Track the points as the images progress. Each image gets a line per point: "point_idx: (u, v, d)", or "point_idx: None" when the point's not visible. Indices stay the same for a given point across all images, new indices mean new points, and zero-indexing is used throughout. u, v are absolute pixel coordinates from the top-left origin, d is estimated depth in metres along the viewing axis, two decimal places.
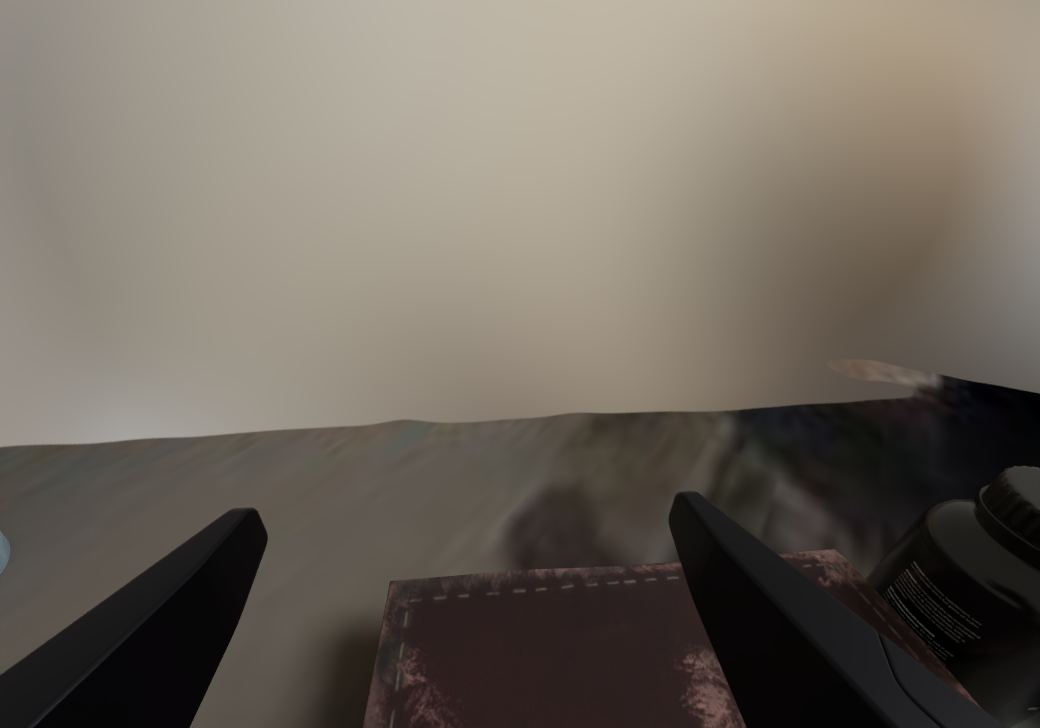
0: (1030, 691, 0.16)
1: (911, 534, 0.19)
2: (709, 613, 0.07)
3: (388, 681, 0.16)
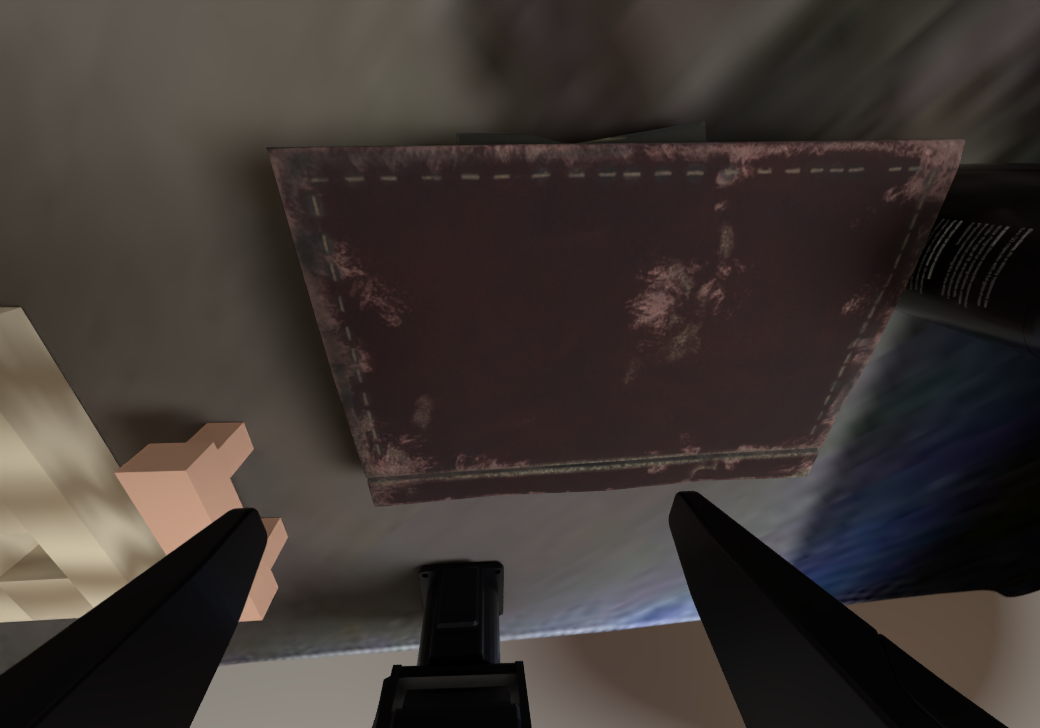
0: (943, 326, 0.17)
1: None
2: (709, 613, 0.07)
3: (323, 274, 0.14)
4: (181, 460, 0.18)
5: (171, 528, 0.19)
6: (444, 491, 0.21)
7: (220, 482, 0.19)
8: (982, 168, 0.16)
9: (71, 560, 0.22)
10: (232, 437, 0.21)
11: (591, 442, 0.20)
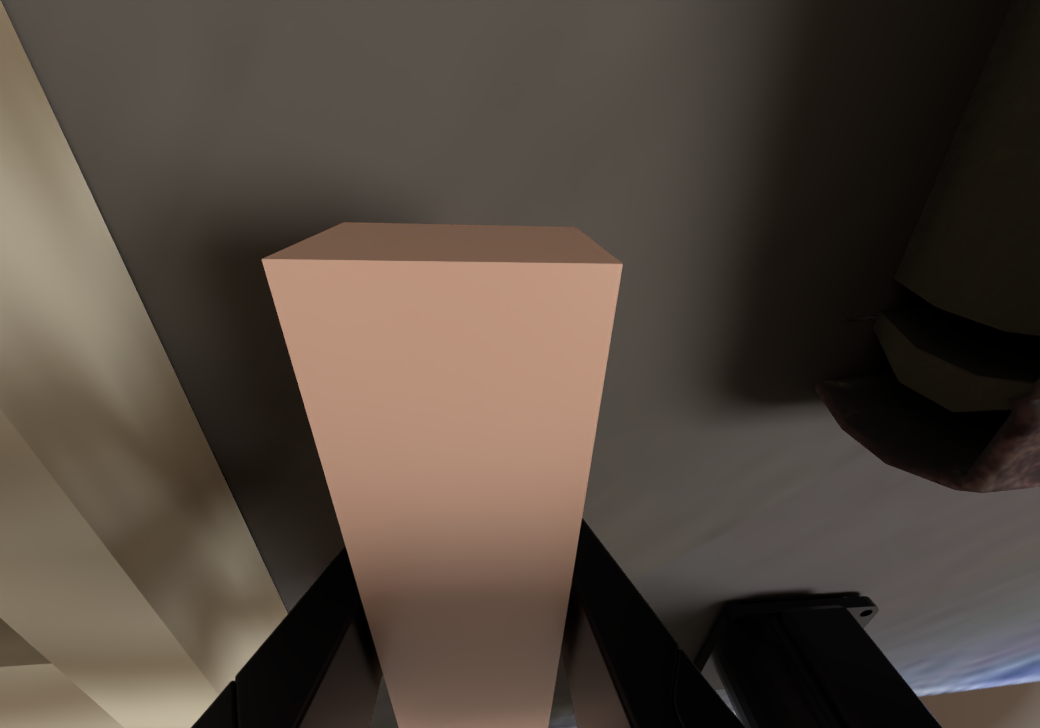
0: None
1: None
2: None
3: None
4: (540, 246, 0.04)
5: (426, 549, 0.05)
6: None
7: None
8: None
9: (58, 623, 0.08)
10: None
11: None
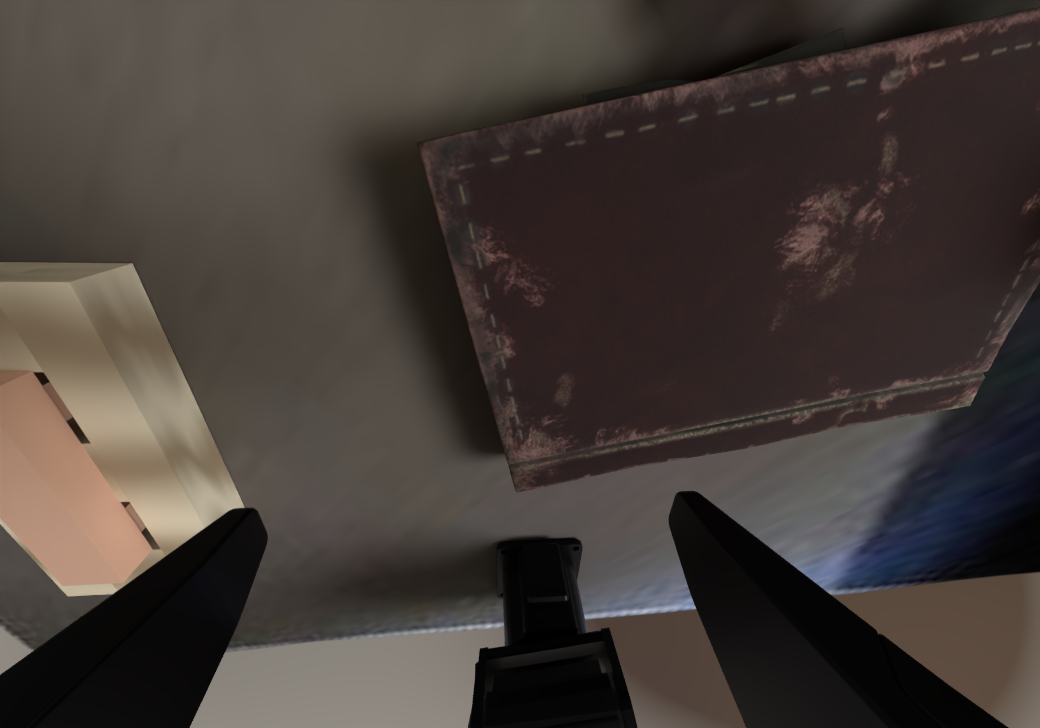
0: None
1: None
2: (709, 613, 0.07)
3: (470, 263, 0.14)
4: None
5: None
6: (583, 469, 0.20)
7: (45, 419, 0.17)
8: None
9: (166, 530, 0.21)
10: None
11: (733, 398, 0.19)
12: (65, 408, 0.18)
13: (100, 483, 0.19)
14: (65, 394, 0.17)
